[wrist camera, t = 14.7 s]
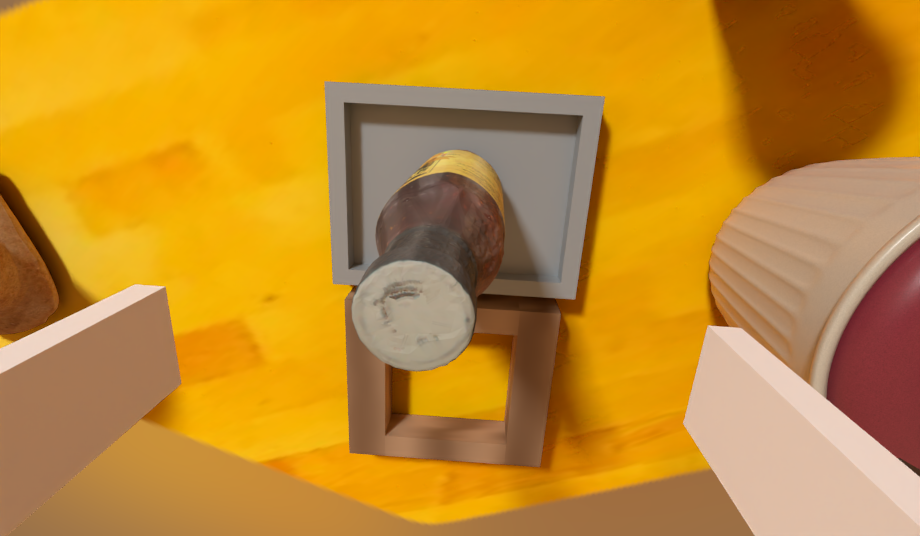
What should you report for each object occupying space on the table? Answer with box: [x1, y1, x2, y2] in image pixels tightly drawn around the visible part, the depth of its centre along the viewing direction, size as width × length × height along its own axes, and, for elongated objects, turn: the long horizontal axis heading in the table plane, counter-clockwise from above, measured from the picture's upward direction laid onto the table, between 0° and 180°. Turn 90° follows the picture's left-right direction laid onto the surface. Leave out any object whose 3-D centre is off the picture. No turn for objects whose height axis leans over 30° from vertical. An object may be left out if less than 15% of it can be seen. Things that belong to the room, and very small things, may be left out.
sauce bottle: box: [351, 149, 505, 371], centre depth 23 cm, size 7×6×20 cm
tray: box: [325, 82, 605, 299], centre depth 33 cm, size 18×14×2 cm
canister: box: [709, 157, 920, 469], centre depth 24 cm, size 18×18×21 cm
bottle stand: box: [345, 285, 561, 467], centre depth 37 cm, size 16×14×3 cm
